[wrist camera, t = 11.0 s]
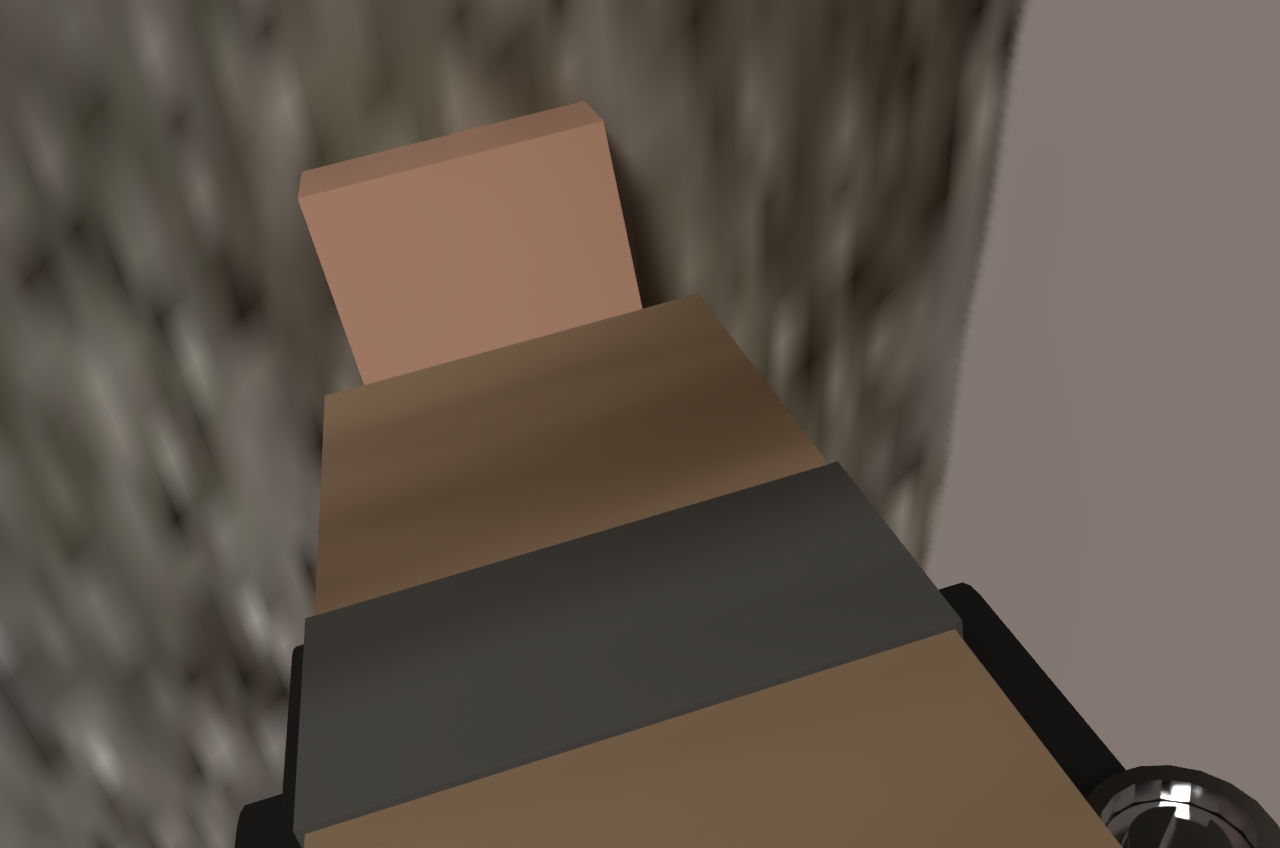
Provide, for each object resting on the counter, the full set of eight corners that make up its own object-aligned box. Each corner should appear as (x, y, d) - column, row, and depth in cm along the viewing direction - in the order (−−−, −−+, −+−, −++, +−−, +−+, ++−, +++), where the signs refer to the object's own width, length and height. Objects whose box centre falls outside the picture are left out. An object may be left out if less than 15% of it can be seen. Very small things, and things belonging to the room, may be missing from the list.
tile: (298, 198, 24) (403, 496, 28) (603, 120, 25) (665, 422, 29) (303, 167, 27) (400, 447, 31) (582, 97, 28) (642, 379, 31)
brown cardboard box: (318, 393, 11) (267, 1257, 4) (701, 288, 12) (1200, 926, 5) (475, 802, 14) (590, 1696, 7) (775, 706, 15) (1149, 1466, 8)
